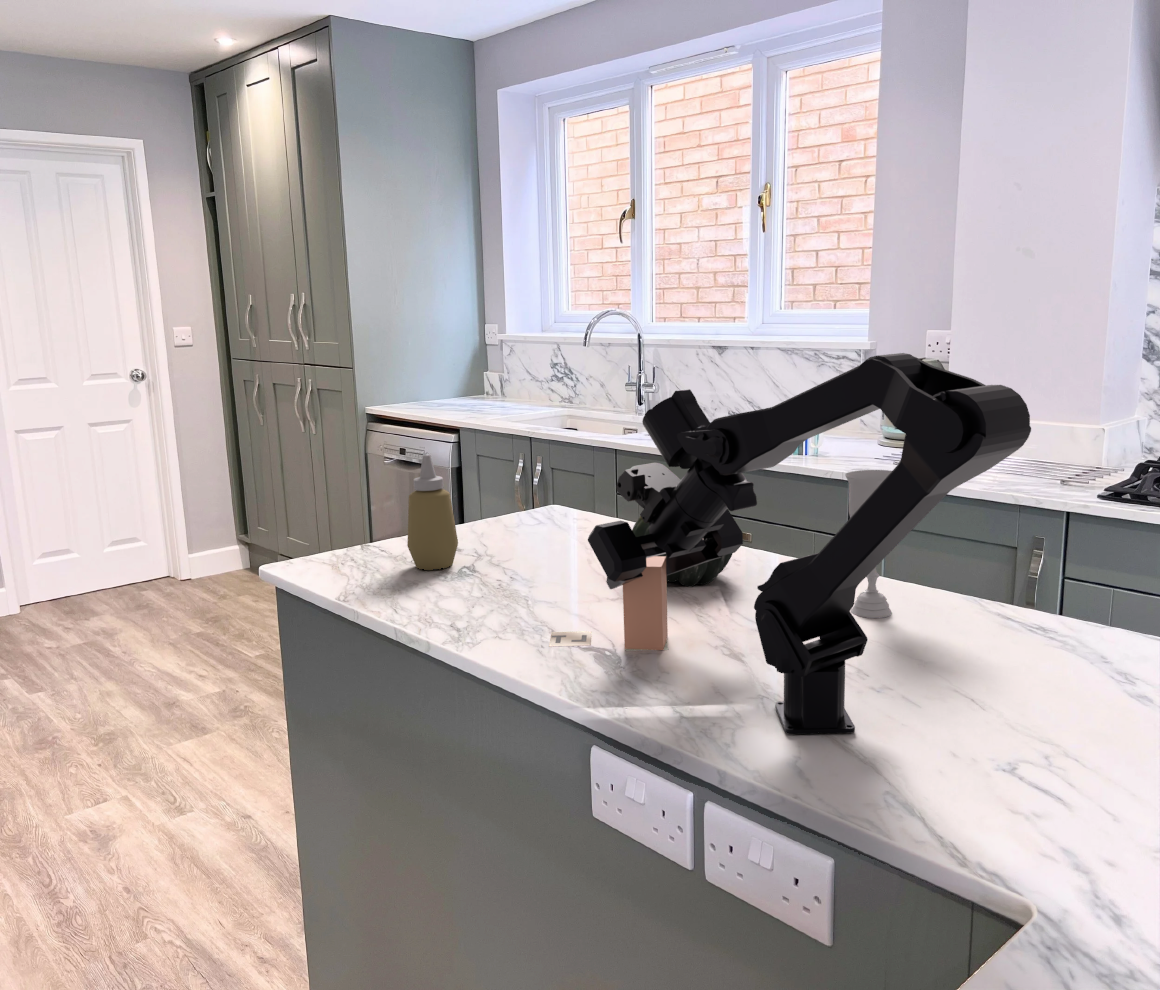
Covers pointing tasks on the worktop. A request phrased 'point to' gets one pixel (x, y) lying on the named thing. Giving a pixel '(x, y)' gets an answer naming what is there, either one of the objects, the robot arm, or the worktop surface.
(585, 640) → the walnut board
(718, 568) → the squash
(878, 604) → the chalice
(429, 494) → the squeeze bottle
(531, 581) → the worktop surface
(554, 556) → the worktop surface
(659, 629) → the terracotta block
